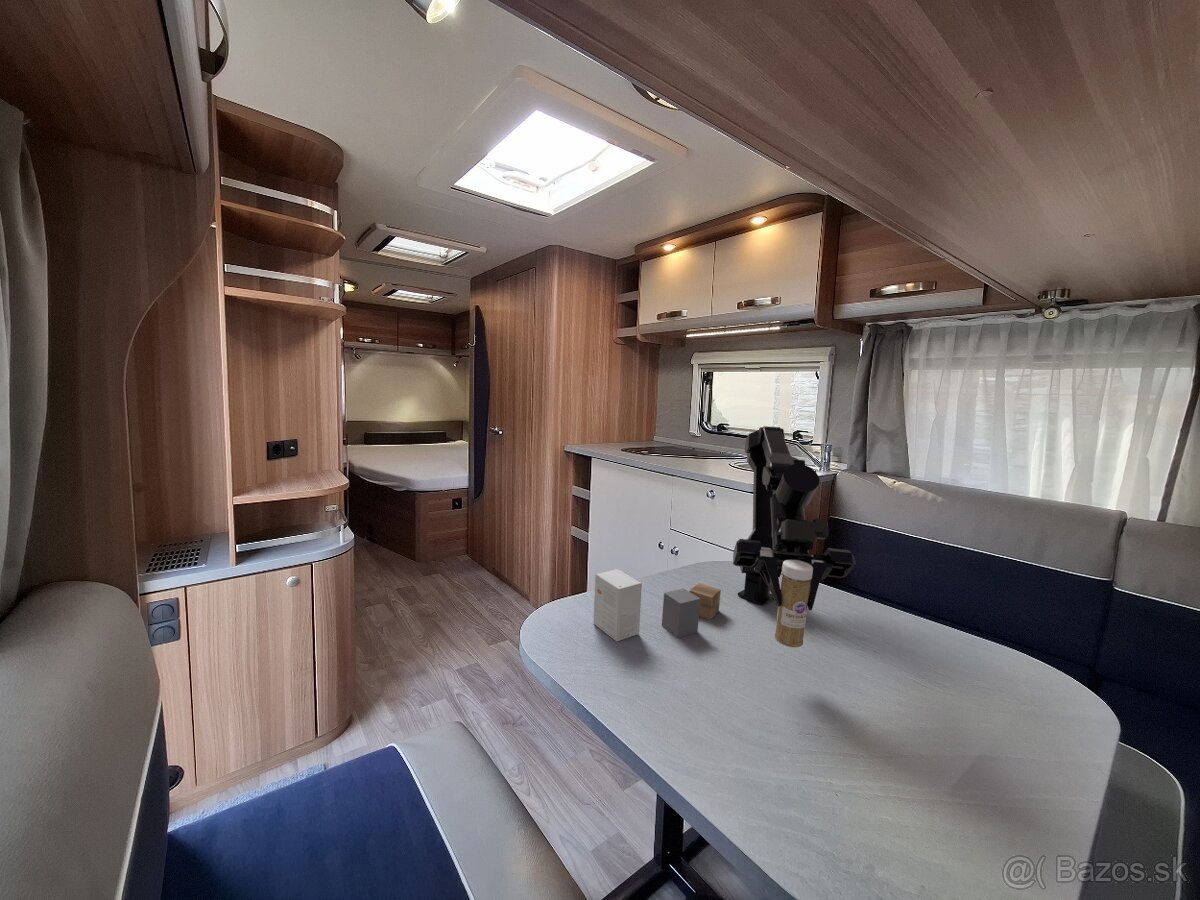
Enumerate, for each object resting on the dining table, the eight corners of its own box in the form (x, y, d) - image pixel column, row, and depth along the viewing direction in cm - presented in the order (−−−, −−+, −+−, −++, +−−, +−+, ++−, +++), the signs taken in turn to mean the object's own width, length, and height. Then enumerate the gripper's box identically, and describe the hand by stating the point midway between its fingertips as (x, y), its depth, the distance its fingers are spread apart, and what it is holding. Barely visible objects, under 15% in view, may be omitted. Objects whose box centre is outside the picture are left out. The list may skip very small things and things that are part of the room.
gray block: (681, 620, 97) (683, 588, 96) (697, 632, 92) (700, 598, 91) (661, 625, 94) (664, 592, 93) (677, 637, 90) (680, 603, 89)
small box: (639, 635, 90) (643, 583, 89) (616, 642, 87) (619, 589, 86) (615, 616, 97) (617, 568, 95) (592, 623, 94) (595, 573, 92)
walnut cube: (697, 604, 104) (699, 582, 104) (718, 611, 102) (720, 589, 101) (687, 612, 100) (689, 590, 100) (709, 620, 97) (711, 597, 97)
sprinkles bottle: (788, 650, 75) (798, 570, 73) (768, 636, 79) (776, 560, 77) (809, 645, 77) (819, 567, 75) (788, 631, 81) (797, 557, 79)
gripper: (741, 493, 80) (742, 581, 71) (859, 503, 77) (876, 597, 68) (732, 524, 89) (732, 606, 80) (838, 535, 85) (850, 621, 76)
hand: (794, 607), depth 76 cm, fingers closed on sprinkles bottle, 4 cm apart
